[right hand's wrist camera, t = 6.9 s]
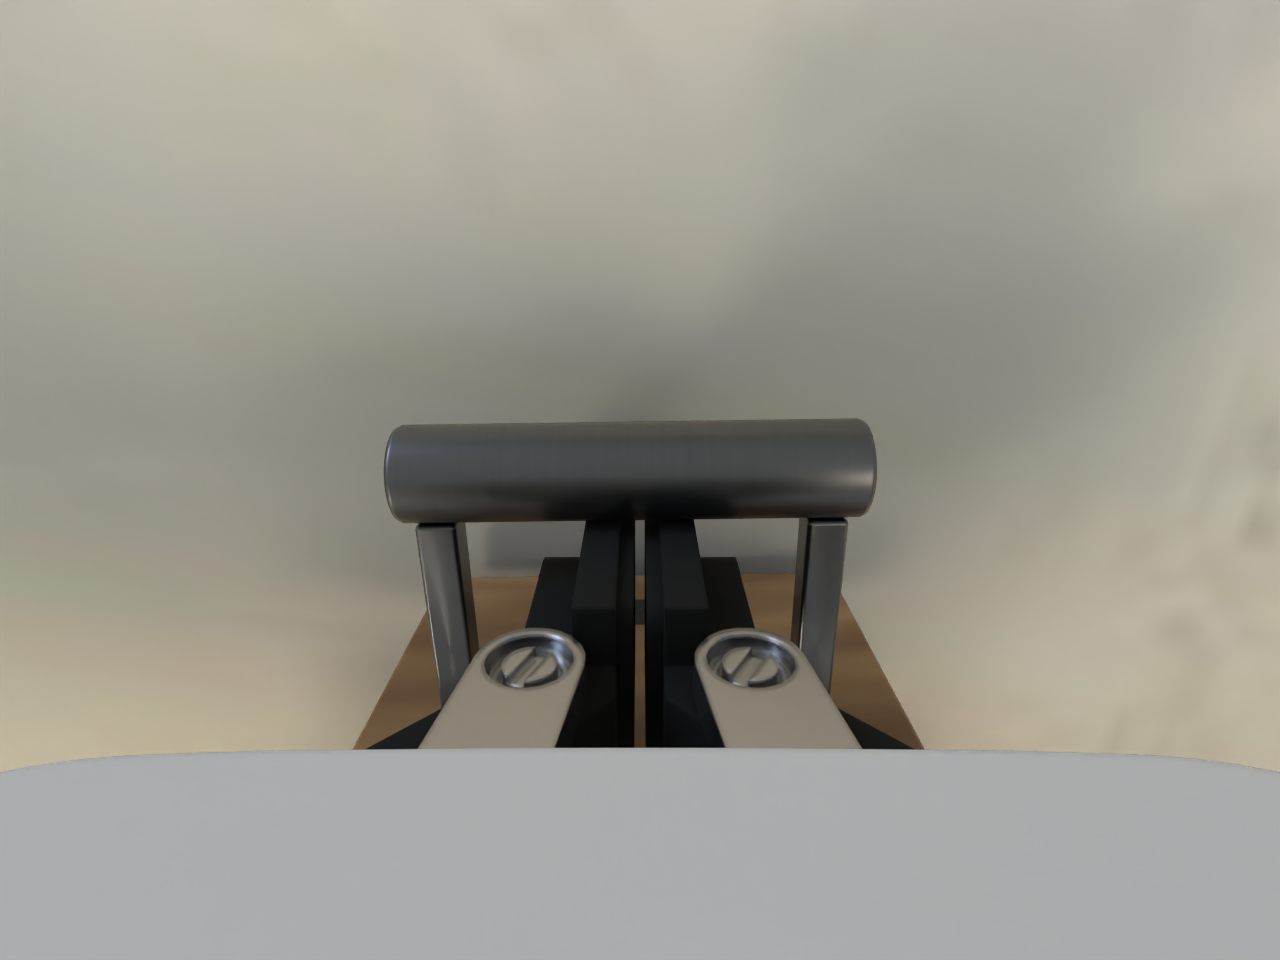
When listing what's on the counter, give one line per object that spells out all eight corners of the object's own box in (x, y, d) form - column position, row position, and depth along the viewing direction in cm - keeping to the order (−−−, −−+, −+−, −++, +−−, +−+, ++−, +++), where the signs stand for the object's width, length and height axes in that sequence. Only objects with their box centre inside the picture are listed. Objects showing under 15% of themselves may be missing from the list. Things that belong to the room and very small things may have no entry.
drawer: (413, 351, 15) (199, 483, 8) (852, 344, 15) (1057, 471, 8) (486, 909, 21) (406, 1279, 14) (798, 905, 21) (884, 1274, 14)
